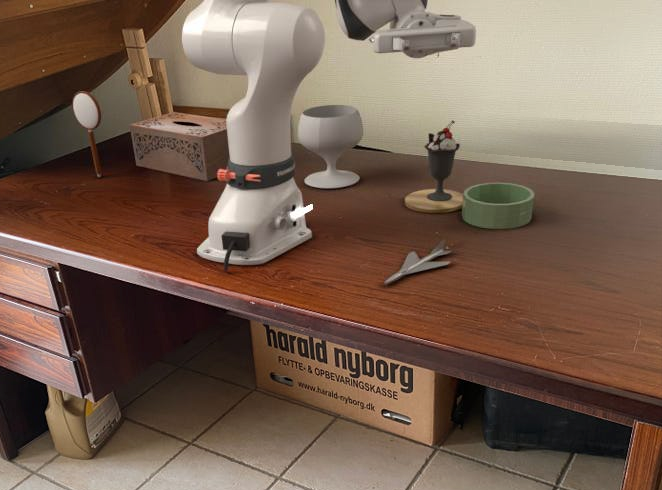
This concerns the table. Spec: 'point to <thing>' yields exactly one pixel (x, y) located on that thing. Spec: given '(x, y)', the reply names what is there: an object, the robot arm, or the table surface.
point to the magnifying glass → (88, 119)
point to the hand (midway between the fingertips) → (430, 44)
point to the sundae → (441, 160)
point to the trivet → (433, 202)
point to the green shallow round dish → (497, 205)
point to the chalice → (330, 141)
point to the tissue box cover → (182, 145)
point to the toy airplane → (420, 263)
